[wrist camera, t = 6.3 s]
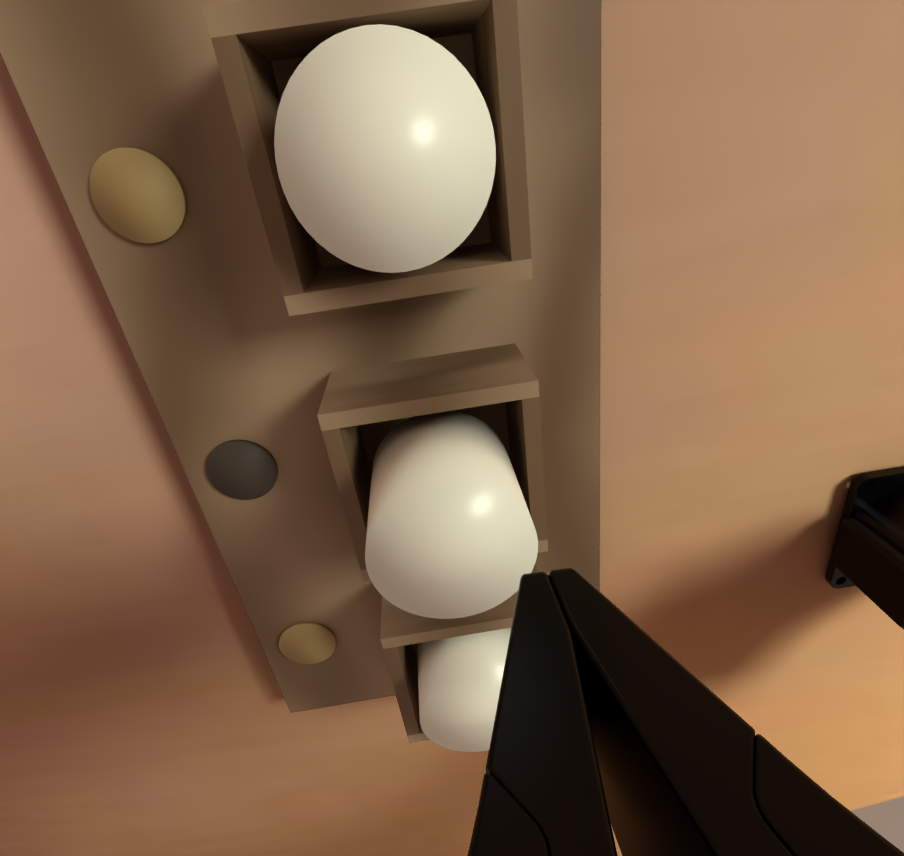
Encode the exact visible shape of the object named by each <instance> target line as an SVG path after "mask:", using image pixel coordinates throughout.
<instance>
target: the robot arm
mask: <svg viewBox="0 0 904 856" xmlns="http://www.w3.org/2000/svg"><path fill="white" fill-rule="evenodd" d="M825 580H826V581H827V582H828V583H829V584H830V585H831V586H832V587H833V588H844V587H850V586H857V587H858V588H859V589H860V590H861V591H862V592H863V593H864V594H865V595H867V596H868V597H869V598H870V599H871V600H872V601H873V602H874V603H875V604H876V605H877V606H878V607H879V608H880V609H882V610H883V611H884V612H885V613H886V614H887V615H888V616H889V617H890V618H891V619H892V620H893V621H894V622H895V623H897V624H898V625H899V626H900V627H901V628H903V629H904V467H900V468H894V469H887V470H881V471H875V472H869V473H864V474H860V475H859V476H857V477H855V479H854V480H853V481H852V483H851V485H850V488H849V492H848V496H847V499H846V503H845V507H844V510H843V514H842V518H841V521H840V525H839V528H838V532H837V536H836V539H835V543H834V547H833V550H832V554H831V558H830V561H829V565H828V569H827V572H826V576H825ZM611 825H612V827H611ZM612 828H613V831H614V833H615V836H616V839H617V842H618V844H619V847H620V850H621V853H622V856H904V853H903V852H902V851H900V850H899V849H898V848H896V847H895V846H894V845H893V844H891V843H890V842H889V841H887V840H886V839H885V838H883V837H882V836H881V835H880V834H878V833H877V832H876V831H875V830H873V829H872V828H871V827H869V826H868V825H867V824H866V823H865V822H863V821H862V820H860V819H859V818H858V817H857V816H856V815H854V814H853V813H852V812H851V811H849V810H848V809H847V808H846V807H844V806H843V805H842V804H841V803H839V802H838V801H837V800H835V799H834V798H833V797H832V796H830V795H829V794H828V793H827V792H826V791H825V790H823V789H822V788H821V787H820V786H819V785H818V784H816V783H815V782H814V781H813V780H812V779H811V778H809V777H808V776H807V775H806V774H805V773H804V772H802V771H801V770H800V769H799V768H798V767H797V766H795V765H794V764H793V763H792V762H791V761H790V760H788V759H787V758H786V757H785V756H784V755H783V754H782V753H780V752H779V751H778V750H777V749H776V748H775V747H774V746H773V745H771V744H770V743H769V742H768V741H767V740H766V739H765V738H764V737H763V736H761V735H759V734H757V735H755V730H754V729H753V728H752V727H751V726H750V725H749V724H748V723H746V722H745V721H744V720H743V719H742V718H741V717H740V716H739V715H738V714H736V713H735V712H734V711H733V710H732V709H731V708H730V707H729V706H727V705H726V704H725V703H724V702H723V701H722V700H721V699H720V698H718V697H717V696H716V695H715V694H714V693H713V692H712V691H711V690H709V689H708V688H707V687H706V686H705V685H704V684H703V683H702V682H700V681H699V680H698V679H697V678H696V677H695V676H694V675H693V674H691V673H690V672H689V671H688V670H687V669H686V668H685V667H684V666H682V665H681V664H680V663H679V662H678V661H677V660H676V659H675V658H674V657H672V656H671V655H670V654H669V653H668V652H667V651H666V650H665V649H663V648H662V647H661V646H660V645H659V644H658V643H657V642H656V641H654V640H653V639H652V638H651V637H650V636H649V635H648V634H647V633H645V632H644V631H643V630H642V629H641V628H640V627H639V626H638V625H636V624H635V623H634V622H633V621H632V620H631V619H630V618H629V617H627V616H626V615H625V614H624V613H623V612H622V611H621V610H620V609H618V608H617V607H616V606H615V605H614V604H613V603H612V602H611V601H610V600H608V599H607V598H606V597H605V596H604V595H603V594H602V593H601V592H599V591H598V590H597V589H596V588H595V587H594V586H593V585H592V584H590V583H589V582H588V581H587V580H586V579H585V578H584V577H583V576H581V575H580V574H579V573H578V572H577V571H576V570H574V569H572V568H564V569H557V570H551V571H549V572H548V574H546V573H545V572H535V573H527V574H523V575H522V576H521V578H520V584H519V589H518V595H517V600H516V606H515V611H514V617H513V622H512V628H511V633H510V638H509V644H508V649H507V655H506V660H505V666H504V671H503V677H502V682H501V688H500V693H499V699H498V704H497V710H496V715H495V721H494V726H493V731H492V737H491V742H490V748H489V753H488V759H487V764H486V774H485V775H484V779H483V784H482V790H481V795H480V801H479V806H478V810H477V815H476V820H475V824H474V829H473V834H472V838H471V843H470V847H469V852H468V855H467V856H617V852H616V847H615V842H614V837H613V832H612Z"/></svg>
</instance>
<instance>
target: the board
mask: <svg viewBox="0 0 904 856" xmlns="http://www.w3.org/2000/svg"><path fill="white" fill-rule="evenodd" d="M378 24H382V25H392V26H399V27H403V28H406V29H410V30H413V31H416V32H418V33H420V34H422V35H425V36H427V37H429V38H430V39H432V40H434V41H435V42H437V43H438V44H440V45H442V46H443V47H444V48H445V49H446V50H448V51H449V52H450V53H451V54H452V55H454V56H455V57H456V59H457V60H458V61H459V62H460V63H461V64H462V65H463V66H464V67H465V68H466V70H467V71H468V73H469V74H470V75H471V77H472V78H473V80H474V81H475V83H476V85H477V86H478V88H479V90H480V92H481V94H482V96H483V98H484V101H485V103H486V106H487V108H488V111H489V114H490V118H491V122H492V125H493V130H494V137H495V145H496V165H495V175H494V181H493V185H492V190H491V193H490V196H489V199H488V202H487V205H486V207H485V209H484V212H483V214H482V216H481V218H480V220H479V221H478V223H477V224H476V226H475V227H474V229H473V231H472V232H471V233H470V234H469V235H468V237H467V238H466V239H465V240H464V241H463V242H462V243H461V244H460V245H459V246H458V247H457V248H456V249H455V250H454V251H452V252H451V253H449V254H448V255H447V256H445V257H444V258H442V259H440V260H438V261H437V262H435V263H433V264H431V265H428V266H425V267H423V268H420V269H416V270H412V271H407V272H397V273H387V272H376V271H371V270H366V269H363V268H360V267H357V266H354V265H351V264H349V263H347V262H345V261H343V260H341V259H339V258H338V257H336V256H335V255H333V254H331V253H330V252H328V251H327V250H326V249H325V248H323V247H322V246H321V245H320V244H319V243H317V242H316V241H315V239H314V238H313V237H312V236H311V235H310V234H309V233H308V232H307V231H306V230H305V228H304V227H303V226H302V224H301V223H300V222H299V221H298V219H297V217H296V216H295V214H294V212H293V211H292V209H291V207H290V205H289V203H288V201H287V199H286V196H285V194H284V192H283V189H282V186H281V183H280V179H279V176H278V171H277V166H276V161H275V149H274V135H275V123H276V117H277V111H278V108H279V104H280V101H281V98H282V95H283V92H284V90H285V88H286V86H287V84H288V81H289V79H290V78H291V76H292V75H293V73H294V72H295V70H296V68H297V67H298V65H299V64H300V63H301V62H302V61H303V60H304V58H305V57H306V56H307V55H308V54H309V53H310V52H311V51H312V50H314V49H315V48H316V47H317V46H318V45H319V44H321V43H322V42H324V41H325V40H327V39H329V38H330V37H332V36H333V35H335V34H338V33H340V32H343V31H345V30H348V29H351V28H355V27H359V26H364V25H378ZM0 53H1V55H2V58H3V60H4V62H5V64H6V67H7V69H8V71H9V74H10V76H11V78H12V80H13V83H14V85H15V87H16V89H17V92H18V94H19V96H20V99H21V101H22V103H23V105H24V108H25V110H26V112H27V114H28V117H29V119H30V121H31V124H32V126H33V128H34V130H35V133H36V135H37V137H38V139H39V142H40V144H41V146H42V149H43V151H44V153H45V155H46V158H47V160H48V162H49V164H50V167H51V169H52V171H53V174H54V176H55V178H56V180H57V183H58V185H59V187H60V189H61V192H62V194H63V196H64V199H65V201H66V203H67V205H68V208H69V210H70V212H71V214H72V217H73V219H74V221H75V224H76V226H77V228H78V230H79V233H80V235H81V237H82V239H83V242H84V244H85V246H86V249H87V251H88V253H89V255H90V258H91V260H92V262H93V264H94V267H95V269H96V271H97V274H98V276H99V278H100V280H101V283H102V285H103V287H104V289H105V292H106V294H107V296H108V299H109V301H110V303H111V305H112V308H113V310H114V312H115V314H116V317H117V319H118V321H119V324H120V326H121V328H122V330H123V333H124V335H125V337H126V339H127V342H128V344H129V346H130V349H131V351H132V353H133V355H134V358H135V360H136V362H137V364H138V367H139V369H140V371H141V374H142V376H143V378H144V380H145V383H146V385H147V387H148V389H149V392H150V394H151V396H152V399H153V401H154V403H155V405H156V408H157V410H158V412H159V414H160V417H161V419H162V421H163V423H164V426H165V428H166V430H167V433H168V435H169V437H170V439H171V442H172V444H173V446H174V448H175V451H176V453H177V455H178V458H179V460H180V462H181V464H182V467H183V469H184V471H185V473H186V476H187V478H188V480H189V483H190V485H191V487H192V489H193V492H194V494H195V496H196V498H197V501H198V503H199V505H200V508H201V510H202V512H203V514H204V517H205V519H206V521H207V523H208V526H209V528H210V530H211V533H212V535H213V537H214V539H215V542H216V544H217V546H218V548H219V551H220V553H221V555H222V558H223V560H224V562H225V564H226V567H227V569H228V571H229V573H230V576H231V578H232V580H233V583H234V585H235V587H236V589H237V592H238V594H239V596H240V598H241V601H242V603H243V605H244V608H245V610H246V612H247V614H248V617H249V619H250V621H251V623H252V626H253V628H254V630H255V633H256V635H257V637H258V639H259V642H260V644H261V646H262V648H263V651H264V653H265V655H266V658H267V660H268V662H269V664H270V667H271V669H272V671H273V673H274V676H275V678H276V680H277V683H278V685H279V687H280V689H281V692H282V694H283V696H284V698H285V701H286V703H287V705H288V708H289V710H290V712H291V713H293V712H299V711H305V710H311V709H316V708H322V707H328V706H334V705H340V704H346V703H352V702H358V701H364V700H370V699H376V698H382V697H387V696H393V695H396V697H397V701H398V704H399V708H400V711H401V715H402V718H403V722H404V725H405V729H406V733H407V736H408V740H409V743H413V742H418V741H424V740H430V739H429V738H428V737H427V736H426V735H425V734H424V732H423V730H422V728H421V725H420V715H419V688H418V662H417V643H422V642H428V641H434V640H440V639H446V638H452V637H458V636H464V635H470V634H476V633H482V632H488V631H494V630H500V629H506V628H512V622H513V617H514V611H515V606H516V600H517V595H518V591H517V592H516V593H514V594H513V595H512V596H511V597H510V598H508V599H507V600H506V601H504V602H503V603H501V604H499V605H497V606H496V607H494V608H492V609H489V610H487V611H485V612H482V613H479V614H476V615H472V616H467V617H462V618H454V619H437V618H428V617H422V616H418V615H415V614H412V613H409V612H407V611H404V610H402V609H400V608H398V607H396V606H395V605H393V604H392V603H390V602H389V601H388V600H386V599H385V598H384V597H383V596H382V595H381V594H380V593H379V592H378V590H377V589H376V588H375V587H374V585H373V583H372V582H371V580H370V578H369V575H368V572H367V569H366V563H365V547H366V535H367V523H368V512H369V500H370V488H371V476H372V466H373V460H374V456H375V453H376V451H377V449H378V447H379V445H380V443H381V442H382V440H383V439H384V437H385V436H386V435H387V434H388V433H389V432H390V431H391V430H392V429H393V428H394V427H396V426H397V425H398V424H400V423H401V422H403V421H404V420H407V419H409V418H411V417H414V416H420V415H427V414H433V413H439V412H446V411H457V412H462V413H466V414H469V415H471V416H474V417H476V418H478V419H480V420H482V421H483V422H485V423H486V424H487V425H489V426H490V427H491V428H492V429H493V430H494V431H495V432H496V433H497V434H498V436H499V437H500V438H501V440H502V442H503V444H504V446H505V448H506V451H507V453H508V456H509V459H510V462H511V464H512V467H513V470H514V472H515V475H516V478H517V481H518V483H519V486H520V489H521V491H522V494H523V497H524V499H525V502H526V505H527V508H528V510H529V513H530V516H531V518H532V521H533V524H534V527H535V530H536V533H537V538H538V553H537V559H536V562H535V565H534V568H533V570H532V572H531V573H535V572H545V573H546V574H548V572H549V571H551V570H557V569H564V568H572V569H574V570H576V571H577V572H578V573H579V574H580V575H581V576H583V577H584V578H585V579H586V580H587V581H588V582H589V583H590V584H592V585H593V586H594V587H595V588H596V589H597V590H598V591H599V592H600V260H601V0H0Z"/></svg>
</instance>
